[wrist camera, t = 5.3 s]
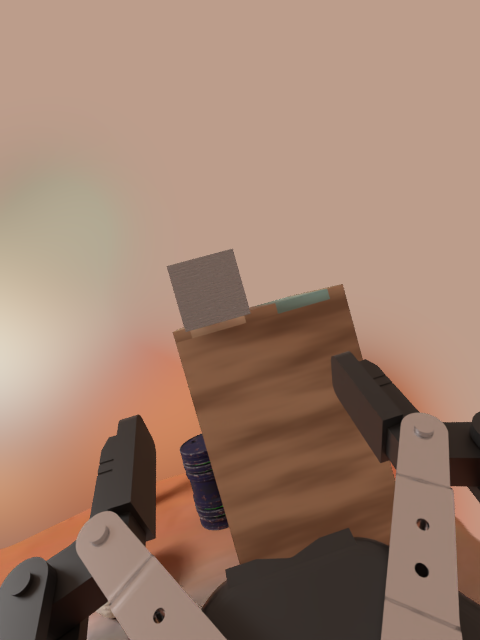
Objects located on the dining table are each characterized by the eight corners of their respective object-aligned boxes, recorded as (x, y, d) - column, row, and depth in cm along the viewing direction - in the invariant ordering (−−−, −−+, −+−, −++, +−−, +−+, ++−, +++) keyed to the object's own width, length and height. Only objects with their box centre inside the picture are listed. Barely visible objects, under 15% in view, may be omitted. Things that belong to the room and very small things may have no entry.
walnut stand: (444, 665, 32) (342, 284, 31) (286, 725, 31) (172, 332, 30) (361, 539, 50) (294, 295, 49) (259, 574, 49) (187, 325, 47)
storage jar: (257, 499, 68) (237, 429, 67) (231, 533, 60) (208, 454, 59) (218, 495, 73) (199, 430, 73) (190, 527, 65) (168, 454, 64)
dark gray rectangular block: (250, 313, 20) (232, 248, 20) (185, 332, 20) (166, 266, 20) (228, 313, 48) (220, 286, 48) (201, 321, 48) (193, 294, 47)
